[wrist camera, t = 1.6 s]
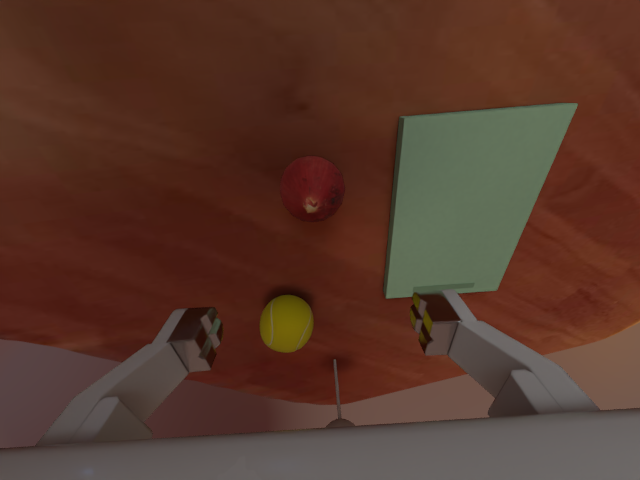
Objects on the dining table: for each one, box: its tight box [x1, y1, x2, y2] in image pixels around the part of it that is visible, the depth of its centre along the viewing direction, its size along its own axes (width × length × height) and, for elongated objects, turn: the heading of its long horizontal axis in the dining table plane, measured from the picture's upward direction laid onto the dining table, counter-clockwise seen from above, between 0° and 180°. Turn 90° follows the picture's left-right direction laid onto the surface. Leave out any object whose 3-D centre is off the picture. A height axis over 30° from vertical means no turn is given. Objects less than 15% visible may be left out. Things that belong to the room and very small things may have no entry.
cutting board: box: [383, 103, 578, 299], centre depth 27 cm, size 22×15×2 cm
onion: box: [280, 155, 345, 222], centre depth 21 cm, size 6×6×8 cm
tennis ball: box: [260, 295, 314, 352], centre depth 31 cm, size 7×7×7 cm
